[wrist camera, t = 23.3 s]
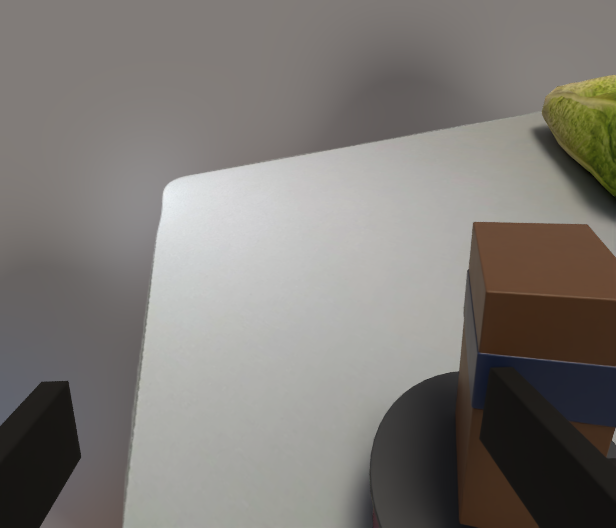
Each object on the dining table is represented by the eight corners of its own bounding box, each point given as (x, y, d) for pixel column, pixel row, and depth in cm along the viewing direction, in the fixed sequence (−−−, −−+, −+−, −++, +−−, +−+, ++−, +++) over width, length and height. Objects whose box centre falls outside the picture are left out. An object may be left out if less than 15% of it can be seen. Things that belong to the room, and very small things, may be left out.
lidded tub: (430, 726, 19) (451, 718, 15) (338, 457, 28) (335, 405, 24) (665, 622, 21) (742, 590, 17) (507, 403, 30) (531, 346, 26)
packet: (581, 550, 16) (658, 302, 12) (457, 525, 18) (484, 291, 13) (545, 424, 22) (588, 223, 18) (454, 412, 23) (471, 220, 19)
